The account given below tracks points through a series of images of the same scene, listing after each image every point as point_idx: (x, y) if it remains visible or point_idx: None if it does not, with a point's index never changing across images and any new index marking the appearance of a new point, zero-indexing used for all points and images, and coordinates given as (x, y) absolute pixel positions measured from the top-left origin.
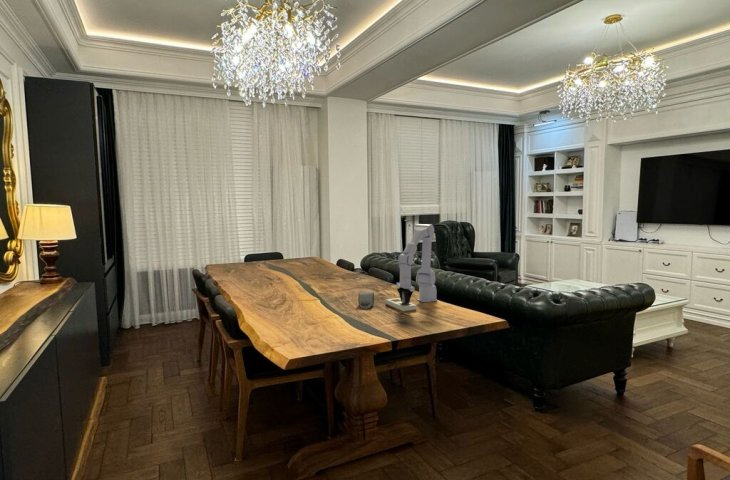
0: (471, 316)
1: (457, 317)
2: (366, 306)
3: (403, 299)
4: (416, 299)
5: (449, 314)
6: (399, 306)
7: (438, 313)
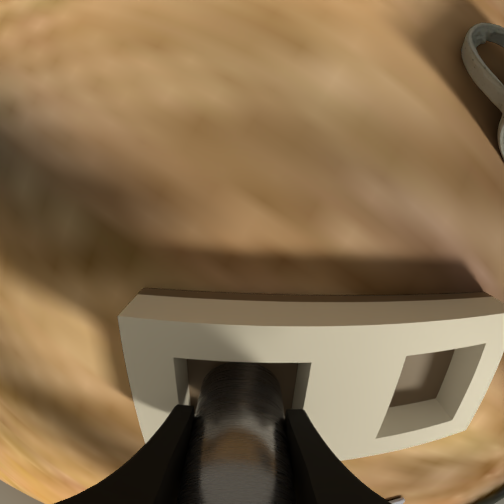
0: (22, 476)
1: (5, 444)
2: (468, 38)
3: (216, 435)
4: (398, 499)
5: (47, 464)
6: (217, 316)
7: (67, 453)
